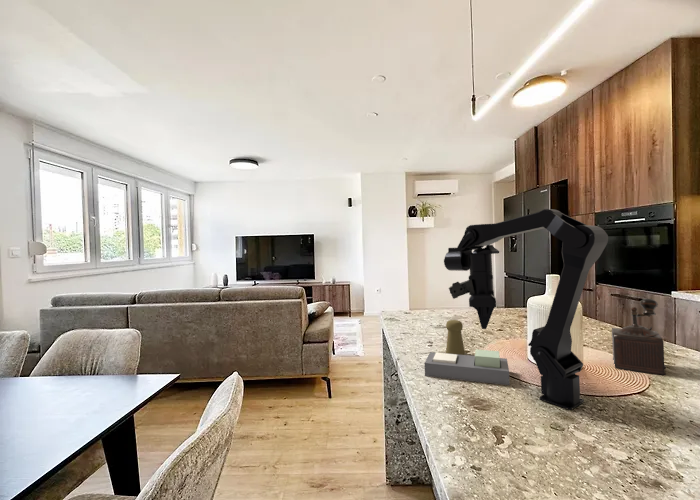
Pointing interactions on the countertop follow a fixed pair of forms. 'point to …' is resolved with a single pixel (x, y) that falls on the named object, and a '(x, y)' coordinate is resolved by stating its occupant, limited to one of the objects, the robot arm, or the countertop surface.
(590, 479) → the countertop surface
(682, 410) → the countertop surface
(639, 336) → the brown manual coffee grinder
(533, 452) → the countertop surface
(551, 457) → the countertop surface
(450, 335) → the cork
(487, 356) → the sage key
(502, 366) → the key panel
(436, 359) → the cream key
